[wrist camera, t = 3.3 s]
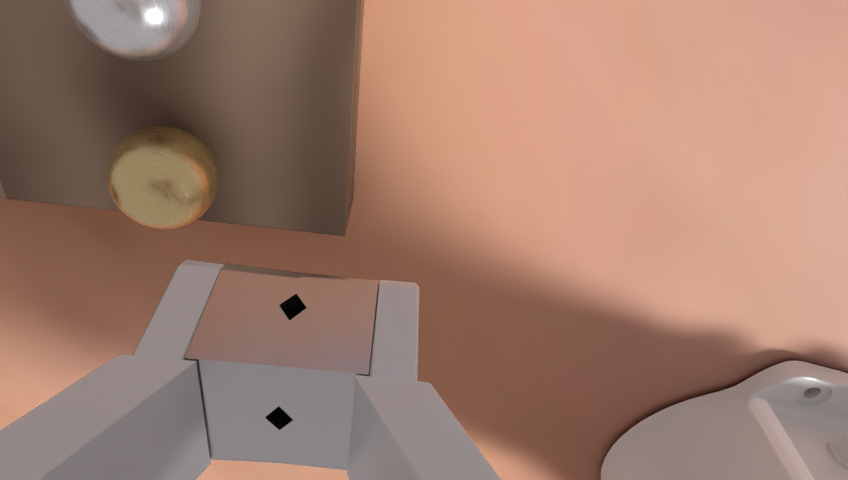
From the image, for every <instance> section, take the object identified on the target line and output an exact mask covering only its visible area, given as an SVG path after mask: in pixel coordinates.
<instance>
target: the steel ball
mask: <svg viewBox="0 0 848 480" xmlns="http://www.w3.org/2000/svg"><path fill="white" fill-rule="evenodd" d="M64 1H65V4H66V7H67V9H68V12H69V14H70V16H71V17H72V19H73V21H74V22H75V24H76V25H77V27H78V28H79V29H80V31H81V32H82V33H83V34H84V35H85V36H86V37H87V38H88V39H89V40H90V41H91V42H93V43H94V44H95V45H97V46H98V47H100V48H101V49H103V50H104V51H106V52H108V53H110V54H112V55H115V56H117V57H121V58H124V59H129V60H135V61H149V60H156V59H161V58H163V57H166V56H168V55H171V54H173V53H174V52H176V51H177V50H179V49H180V48H181V47H182V46H184V45H185V44H186V43H187V42H188V40H189V39H190V38H191V36H192V35H193V33H194V32H195V30H196V27H197V25H198V22H199V18H200V14H201V0H64Z"/></svg>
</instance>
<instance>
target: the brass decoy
mask: <svg viewBox="0 0 848 480" xmlns="http://www.w3.org/2000/svg"><path fill="white" fill-rule="evenodd" d="M106 180H107V187H108V190H109V193H110V195H111V198H112V200H113V201H114V203H115V204H116V206H117V207H118V208H119V209H120V210H121V211H122V212H123V214H125V215H126V216H127V217H128V218H130V219H131V220H133V221H134V222H136V223H138V224H140V225H143V226H146V227H150V228H154V229H164V230H165V229H175V228H180V227H183V226H186V225H188V224H191V223H192V222H194V221H196V220H197V219H199V218H200V217H201V216H202V215H203V214H204V213H205V212H206V211H207V210H208V209H209V208H210V206H211V205H212V203H213V201H214V199H215V197H216V194H217V191H218V184H219V174H218V168H217V165H216V162H215V159H214V157H213V155H212V153H211V152H210V150H209V149H208V148H207V146H206V145H205V144H204V143H203V142H202V141H201V140H200V139H198V138H197V137H196V136H194V135H193V134H191V133H189V132H187V131H185V130H183V129H180V128H177V127H173V126H168V125H154V126H148V127H144V128H141V129H138V130H136V131H134V132H132V133H130V134H128V135H127V136H126V137H124V138H123V139H122V140H121V141H120V142H119V143H118V144H117V145H116V147H115V148H114V150H113V152H112V153H111V156H110V158H109V161H108V164H107V170H106Z"/></svg>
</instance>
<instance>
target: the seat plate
mask: <svg viewBox="0 0 848 480" xmlns="http://www.w3.org/2000/svg"><path fill="white" fill-rule="evenodd" d="M363 9H364V0H201V14H200V18H199V22H198V25H197V27H196V30H195V32H194V33H193V35H192V36H191V38H190V39H189V40H188V42H187V43H186V44H185V45H184V46H182V47H181V48H180V49H179V50H177V51H176V52H174V53H173V54H171V55H168V56H166V57H163V58H161V59H156V60H149V61H135V60H129V59H124V58H121V57H117V56H115V55H112V54H110V53H108V52H106V51H104V50H103V49H101V48H100V47H98V46H97V45H95V44H94V43H93V42H91V41H90V40H89V39H88V38H87V37H86V36H85V35H84V34H83V33H82V32H81V31H80V29H79V28H78V27H77V25H76V24H75V22H74V21H73V19H72V17H71V16H70V14H69V12H68V9H67V7H66V4H65V1H64V0H0V198H6V199H15V200H24V201H33V202H42V203H51V204H60V205H69V206H78V207H87V208H96V209H105V210H114V211H121V210H120V209H119V208H118V207H117V206H116V204H115V203H114V201H113V200H112V198H111V195H110V193H109V190H108V187H107V180H106V170H107V164H108V161H109V158H110V156H111V153H112V152H113V150H114V148H115V147H116V145H117V144H118V143H119V142H120V141H121V140H122V139H123V138H124V137H126V136H127V135H128V134H130V133H132V132H134V131H136V130H138V129H141V128H144V127H148V126H154V125H168V126H173V127H177V128H180V129H183V130H185V131H187V132H189V133H191V134H193V135H194V136H196V137H197V138H198V139H200V140H201V141H202V142H203V143H204V144H205V145H206V146H207V148H208V149H209V150H210V152H211V153H212V155H213V157H214V159H215V162H216V165H217V168H218V174H219V184H218V191H217V194H216V197H215V199H214V201H213V203H212V205H211V206H210V208H209V209H208V210H207V211H206V212H205V213H204V214H203V215H202V216H201V217H200V218H199V219H197V220H204V221H213V222H222V223H231V224H240V225H249V226H258V227H267V228H276V229H285V230H294V231H303V232H312V233H321V234H330V235H339V236H345V233H346V229H347V224H348V219H349V215H350V210H351V205H352V200H353V183H354V165H355V148H356V131H357V113H358V96H359V79H360V61H361V44H362V26H363Z"/></svg>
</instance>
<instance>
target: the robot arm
mask: <svg viewBox="0 0 848 480" xmlns="http://www.w3.org/2000/svg"><path fill="white" fill-rule="evenodd" d="M418 331H419V286H418V284H417V283H414V282H402V281H390V280H380V281H379V285H378V280H371V279H360V278H350V277H339V276H328V275H318V274H307V273H297V272H289V271H281V270H273V269H265V268H257V267H249V266H241V265H233V264H226V265H224V264H218V263H211V262H203V261H195V260H187V259H186V260H185V261H184V262H183V263H181V264H180V265H179V266H178V267H177V269H176V271H175V273H174V275H173V277H172V279H171V281H170V283H169V284H168V286H167V288H166V290H165V292H164V294H163V296H162V298H161V300H160V302H159V304H158V306H157V308H156V310H155V312H154V314H153V316H152V318H151V320H150V322H149V324H148V326H147V328H146V330H145V332H144V334H143V336H142V338H141V340H140V342H139V344H138V346H137V348H136V349H135V351H134V353H133V355H123V354H119V355H118V356H116V357H114V358H113V359H111V360H110V361H108V362H107V363H105V364H104V365H102V366H100V367H99V368H97V369H96V370H94V371H93V372H91V373H89V374H88V375H86V376H85V377H83V378H82V379H80V380H79V381H77V382H75V383H74V384H72V385H71V386H69V387H68V388H66V389H64V390H63V391H61V392H60V393H58V394H57V395H55V396H54V397H52V398H50V399H49V400H47V401H46V402H44V403H43V404H41V405H39V406H38V407H36V408H35V409H33V410H32V411H30V412H28V413H27V414H25V415H24V416H22V417H21V418H19V419H18V420H16V421H14V422H13V423H11V424H10V425H8V426H7V427H5V428H3V429H2V430H0V480H195V479H196V478H197V477H198V476H199V475H200V474H201V473H202V472H203V471H204V470H205V469H206V468H207V467H208V466H209V465H210V464H211V462H210V459H215V460H234V461H253V462H272V463H280V462H281V463H285V464H295V465H304V466H314V467H323V468H332V469H342V470H347V474H348V477H349V479H350V480H501V479H500V478H499V476H498V475H497V474H496V472H495V471H494V469H493V468H492V467H491V465H490V464H489V463H488V461H487V460H486V459H485V457H484V456H483V454H482V453H481V452H480V450H479V449H478V448H477V446H476V445H475V444H474V442H473V441H472V439H471V438H470V437H469V435H468V434H467V433H466V431H465V430H464V429H463V427H462V426H461V424H460V423H459V422H458V420H457V419H456V418H455V416H454V415H453V414H452V412H451V411H450V409H449V408H448V407H447V405H446V404H445V403H444V401H443V400H442V399H441V397H440V396H439V394H438V393H437V392H436V390H435V389H434V388H433V386H432V385H431V384H430V382H423V381H418ZM601 480H848V373H845V372H841V371H838V370H834V369H830V368H826V367H823V366H819V365H815V364H811V363H808V362H804V361H786V362H782V363H779V364H776V365H774V366H771V367H769V368H767V369H765V370H763V371H761V372H759V373H757V374H755V375H754V376H752V377H750V378H748V379H746V380H745V381H743V382H741V383H739V384H738V385H736V386H733V387H730V388H728V389H725V390H721V391H718V392H715V393H711V394H707V395H703V396H700V397H696V398H693V399H689V400H686V401H683V402H680V403H678V404H675V405H673V406H670V407H668V408H665V409H663V410H661V411H659V412H657V413H655V414H653V415H651V416H649V417H647V418H646V419H644V420H643V421H641V422H639V423H638V424H636V425H635V426H633V427H632V428H631V429H630V430H628V431H627V432H626V433H625V434H624V435H622V436H621V437H620V438H619V439H618V440H617V441H616V443H615V444H614V445H613V446H612V448H611V449H610V450H609V452H608V454H607V455H606V457H605V459H604V462H603V465H602V469H601Z"/></svg>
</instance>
